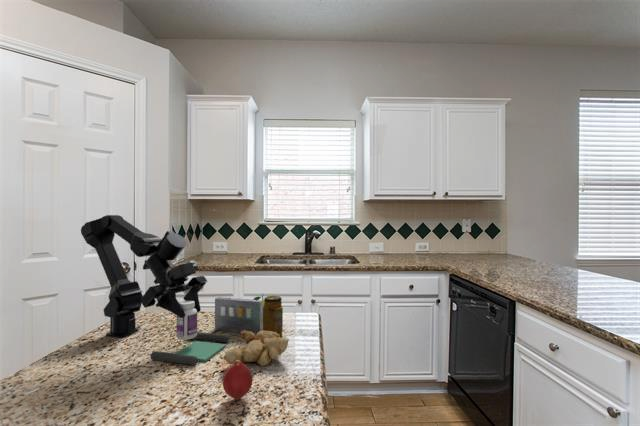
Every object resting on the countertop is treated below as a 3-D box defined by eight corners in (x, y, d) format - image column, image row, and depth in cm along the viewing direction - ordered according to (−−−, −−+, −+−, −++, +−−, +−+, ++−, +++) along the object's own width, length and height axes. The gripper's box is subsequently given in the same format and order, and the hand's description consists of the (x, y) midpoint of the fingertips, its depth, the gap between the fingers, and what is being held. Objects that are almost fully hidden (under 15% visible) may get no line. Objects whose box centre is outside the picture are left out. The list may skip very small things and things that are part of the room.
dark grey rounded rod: (150, 360, 82) (150, 352, 82) (156, 357, 84) (156, 349, 84) (194, 366, 79) (195, 358, 79) (199, 363, 81) (199, 355, 81)
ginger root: (293, 340, 93) (291, 315, 91) (286, 380, 77) (284, 351, 76) (239, 341, 93) (237, 316, 92) (222, 382, 78) (218, 353, 76)
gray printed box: (213, 330, 104) (213, 299, 104) (218, 327, 107) (218, 297, 107) (258, 335, 100) (258, 302, 100) (262, 331, 103) (262, 300, 103)
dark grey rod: (188, 339, 97) (188, 332, 97) (192, 336, 99) (192, 330, 99) (227, 343, 94) (227, 336, 94) (230, 341, 95) (230, 334, 96)
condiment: (279, 331, 104) (280, 293, 104) (289, 340, 96) (289, 300, 97) (257, 334, 101) (257, 296, 101) (265, 344, 93) (265, 302, 93)
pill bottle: (197, 332, 93) (197, 299, 94) (197, 338, 88) (197, 303, 89) (176, 334, 91) (177, 300, 92) (175, 341, 86) (176, 305, 87)
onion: (226, 392, 68) (226, 353, 68) (253, 390, 68) (254, 353, 68) (220, 408, 62) (220, 366, 62) (250, 407, 62) (250, 365, 63)
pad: (171, 357, 84) (171, 355, 84) (195, 343, 94) (195, 341, 94) (205, 362, 82) (205, 359, 82) (226, 346, 91) (226, 344, 91)
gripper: (149, 256, 83) (179, 304, 78) (203, 249, 100) (231, 288, 95) (128, 283, 86) (156, 331, 82) (184, 272, 103) (210, 311, 99)
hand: (191, 313), depth 89 cm, fingers closed on pill bottle, 5 cm apart
